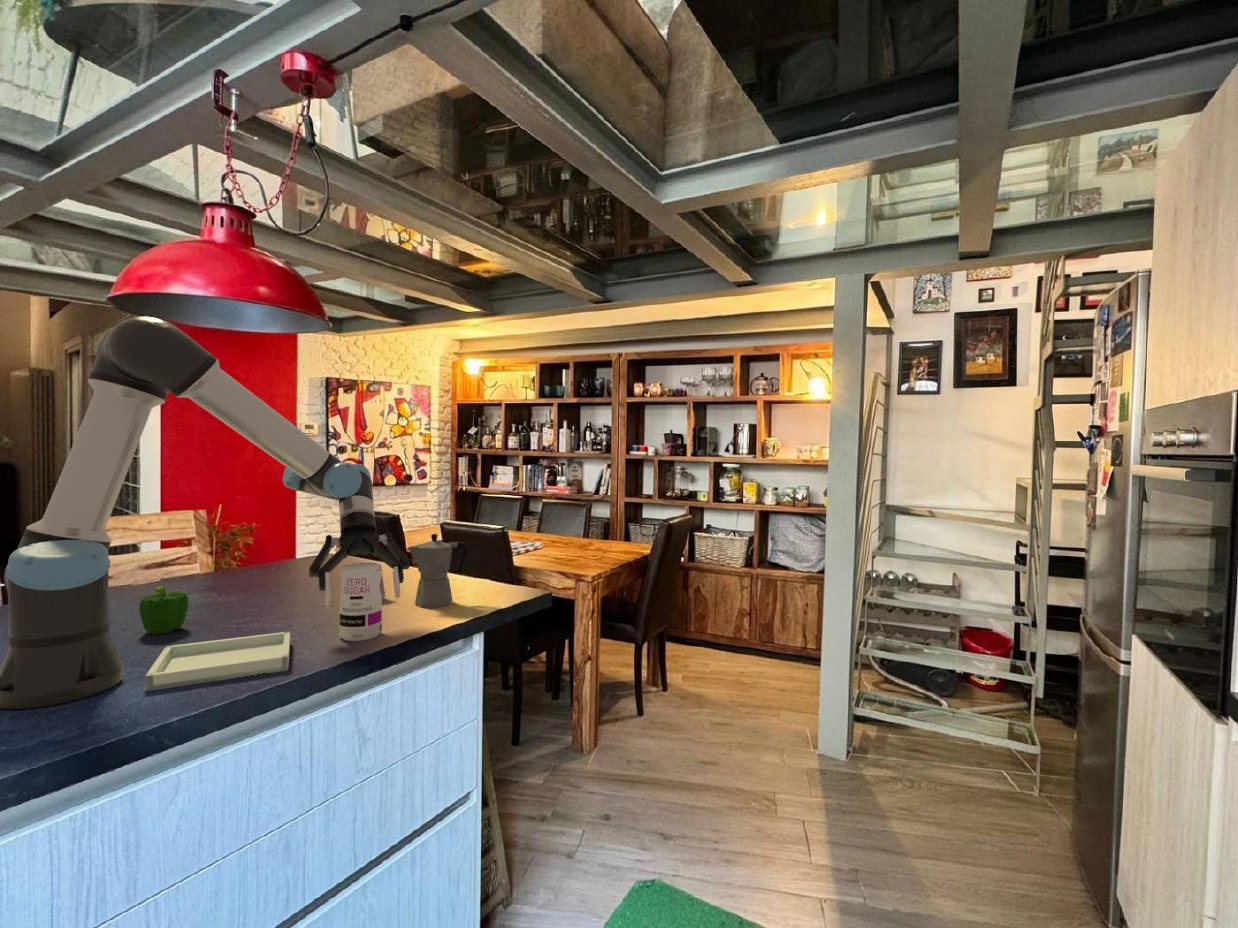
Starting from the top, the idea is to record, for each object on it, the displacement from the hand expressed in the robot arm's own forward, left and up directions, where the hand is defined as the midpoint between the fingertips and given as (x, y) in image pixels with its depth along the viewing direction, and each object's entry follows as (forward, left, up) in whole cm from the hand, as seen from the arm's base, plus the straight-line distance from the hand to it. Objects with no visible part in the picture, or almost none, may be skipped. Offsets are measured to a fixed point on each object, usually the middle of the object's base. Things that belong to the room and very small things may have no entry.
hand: (363, 598), depth 122 cm
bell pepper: (-38, +22, -8) cm, 44 cm away
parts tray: (-24, -7, -8) cm, 26 cm away
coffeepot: (+19, +20, -8) cm, 29 cm away
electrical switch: (+2, +31, -8) cm, 32 cm away
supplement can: (-1, 0, -8) cm, 8 cm away
